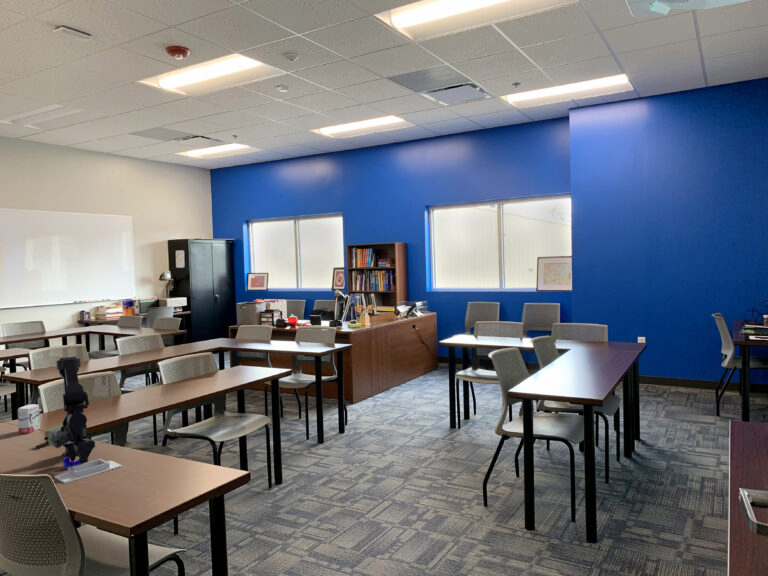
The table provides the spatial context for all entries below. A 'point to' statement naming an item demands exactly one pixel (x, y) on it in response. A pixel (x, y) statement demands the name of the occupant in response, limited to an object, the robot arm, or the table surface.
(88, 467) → the desk organizer
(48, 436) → the handheld radio
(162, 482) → the table surface
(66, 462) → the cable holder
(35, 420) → the ink box
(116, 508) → the table surface
